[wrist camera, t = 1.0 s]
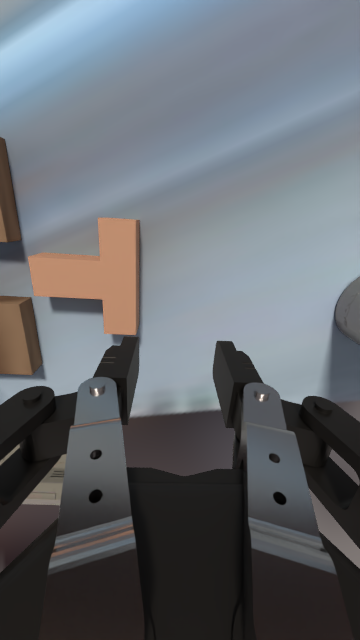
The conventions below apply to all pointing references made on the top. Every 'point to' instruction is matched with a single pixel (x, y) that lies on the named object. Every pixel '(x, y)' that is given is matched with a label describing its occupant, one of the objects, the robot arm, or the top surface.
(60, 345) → the top surface
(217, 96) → the top surface
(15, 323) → the slot nest
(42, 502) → the digital clock
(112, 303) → the t block
